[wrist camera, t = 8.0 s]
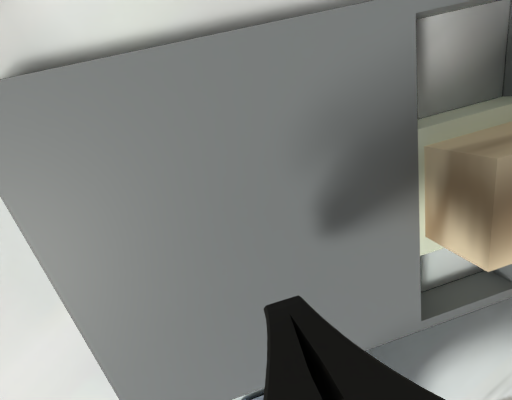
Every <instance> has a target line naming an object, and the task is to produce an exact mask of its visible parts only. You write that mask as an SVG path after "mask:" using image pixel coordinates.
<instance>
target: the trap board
mask: <svg viewBox="0 0 512 400" xmlns="http://www.w3.org/2000/svg"><path fill="white" fill-rule="evenodd" d="M495 1H500V0H373V1H368V2H363V3H359V4H354V5H349V6H345V7H340V8H335V9H330V10H326V11H321V12H316V13H312V14H307V15H302V16H297V17H293V18H288V19H283V20H279V21H274V22H269V23H264V24H260V25H255V26H250V27H246V28H241V29H236V30H231V31H227V32H222V33H217V34H213V35H208V36H203V37H198V38H194V39H189V40H184V41H180V42H175V43H170V44H165V45H161V46H156V47H151V48H147V49H142V50H137V51H132V52H128V53H123V54H118V55H114V56H109V57H104V58H99V59H95V60H90V61H85V62H80V63H76V64H71V65H66V66H62V67H57V68H52V69H47V70H43V71H38V72H33V73H29V74H24V75H19V76H14V77H10V78H5V79H0V197H1V198H2V200H3V202H4V203H5V205H6V207H7V209H8V210H9V212H10V214H11V215H12V217H13V219H14V221H15V222H16V224H17V226H18V227H19V229H20V231H21V232H22V234H23V236H24V238H25V239H26V241H27V243H28V244H29V246H30V248H31V250H32V251H33V253H34V255H35V256H36V258H37V260H38V261H39V263H40V265H41V267H42V268H43V270H44V272H45V273H46V275H47V277H48V279H49V280H50V282H51V284H52V285H53V287H54V289H55V291H56V292H57V294H58V296H59V297H60V299H61V301H62V302H63V304H64V306H65V308H66V309H67V311H68V313H69V314H70V316H71V318H72V320H73V321H74V323H75V325H76V326H77V328H78V330H79V331H80V333H81V335H82V337H83V338H84V340H85V342H86V343H87V345H88V347H89V349H90V350H91V352H92V354H93V355H94V357H95V359H96V360H97V362H98V364H99V366H100V367H101V369H102V371H103V372H104V374H105V376H106V378H107V379H108V381H109V383H110V384H111V386H112V388H113V390H114V391H115V393H116V395H117V396H118V398H119V400H232V399H235V398H238V397H240V396H243V395H246V394H249V393H251V392H254V391H257V390H260V389H262V388H265V378H266V366H267V325H266V317H265V313H264V307H265V306H266V305H269V304H272V303H275V302H278V301H282V300H285V299H288V298H291V297H294V296H298V295H299V296H300V297H302V298H303V299H304V300H305V301H306V302H307V303H308V304H309V305H310V306H311V307H312V308H313V309H314V310H315V311H316V312H317V313H318V314H319V315H320V316H322V317H323V318H324V319H325V320H326V321H327V322H328V323H330V324H331V325H332V326H333V327H334V328H336V329H337V330H338V331H339V332H340V333H342V334H343V335H344V336H345V337H347V338H348V339H349V340H351V341H352V342H353V343H354V344H356V345H357V346H359V347H360V348H361V349H363V350H364V351H367V350H369V349H372V348H375V347H378V346H380V345H383V344H386V343H389V342H391V341H394V340H397V339H400V338H402V337H405V336H408V335H411V334H413V333H416V332H419V331H422V330H424V329H427V328H430V327H433V326H435V325H438V324H441V323H443V322H446V321H449V320H452V319H454V318H457V317H460V316H463V315H465V314H468V313H471V312H474V311H476V310H479V309H482V308H485V307H487V306H490V305H493V304H496V303H498V302H501V301H504V300H507V299H509V298H512V264H510V265H507V266H504V267H501V268H499V269H496V270H493V271H490V272H487V271H482V272H480V273H477V274H474V275H471V276H468V277H465V278H462V279H459V280H457V281H454V282H451V283H448V284H445V285H442V286H439V287H436V288H434V289H431V290H428V291H425V292H422V293H421V280H420V256H422V255H425V254H428V253H431V252H434V251H437V250H440V249H443V248H444V247H443V246H441V245H439V244H437V243H436V242H434V241H432V240H430V239H429V238H427V237H425V163H424V146H427V145H431V144H434V143H438V142H441V141H445V140H448V139H452V138H455V137H459V136H462V135H466V134H469V133H473V132H476V131H480V130H483V129H487V128H490V127H494V126H497V125H501V124H504V123H508V122H512V0H511V5H510V17H509V29H508V41H507V53H506V65H505V77H504V89H503V97H499V98H495V99H492V100H488V101H484V102H481V103H477V104H473V105H469V106H466V107H462V108H458V109H455V110H451V111H447V112H443V113H440V114H436V115H432V116H429V117H425V118H421V119H418V115H417V60H416V19H420V18H424V17H429V16H433V15H438V14H442V13H446V12H451V11H455V10H460V9H464V8H469V7H473V6H478V5H482V4H487V3H491V2H495Z"/></svg>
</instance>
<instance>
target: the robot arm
mask: <svg viewBox="0 0 512 400" xmlns="http://www.w3.org/2000/svg"><path fill="white" fill-rule="evenodd" d="M264 313H265V317H266V325H267V366H266V378H265V389H264V395H262V396H260V397H257V398H254V399H252V400H445V399H443V398H441V397H439V396H437V395H435V394H434V393H432V392H430V391H428V390H426V389H424V388H422V387H420V386H419V385H417V384H415V383H414V382H412V381H410V380H409V379H407V378H405V377H404V376H402V375H400V374H399V373H397V372H395V371H394V370H392V369H391V368H389V367H388V366H386V365H384V364H383V363H381V362H380V361H378V360H377V359H375V358H374V357H372V356H371V355H370V354H368V353H367V352H365V351H364V350H363V349H361V348H360V347H359V346H357V345H356V344H354V343H353V342H352V341H351V340H349V339H348V338H347V337H345V336H344V335H343V334H342V333H340V332H339V331H338V330H337V329H336V328H334V327H333V326H332V325H331V324H330V323H328V322H327V321H326V320H325V319H324V318H323V317H322V316H320V315H319V314H318V313H317V312H316V311H315V310H314V309H313V308H312V307H311V306H310V305H309V304H308V303H307V302H306V301H305V300H304V299H303V298H302V297H300V296H299V295H298V296H294V297H291V298H288V299H285V300H282V301H278V302H275V303H272V304H269V305H266V306H265V307H264Z"/></svg>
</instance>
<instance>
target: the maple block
mask: <svg viewBox="0 0 512 400" xmlns="http://www.w3.org/2000/svg"><path fill="white" fill-rule="evenodd" d="M424 163H425V237H427V238H429V239H430V240H432V241H434V242H436V243H437V244H439V245H441V246H443V247H444V248H446V249H448V250H450V251H451V252H453V253H455V254H457V255H459V256H460V257H462V258H464V259H466V260H467V261H469V262H471V263H473V264H474V265H476V266H478V267H480V268H482V269H483V270H485V271H487V272H490V271H493V270H496V269H499V268H501V267H504V266H507V265H510V264H512V122H508V123H504V124H501V125H497V126H494V127H490V128H487V129H483V130H480V131H476V132H473V133H469V134H466V135H462V136H459V137H455V138H452V139H448V140H445V141H441V142H438V143H434V144H431V145H427V146H424Z"/></svg>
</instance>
